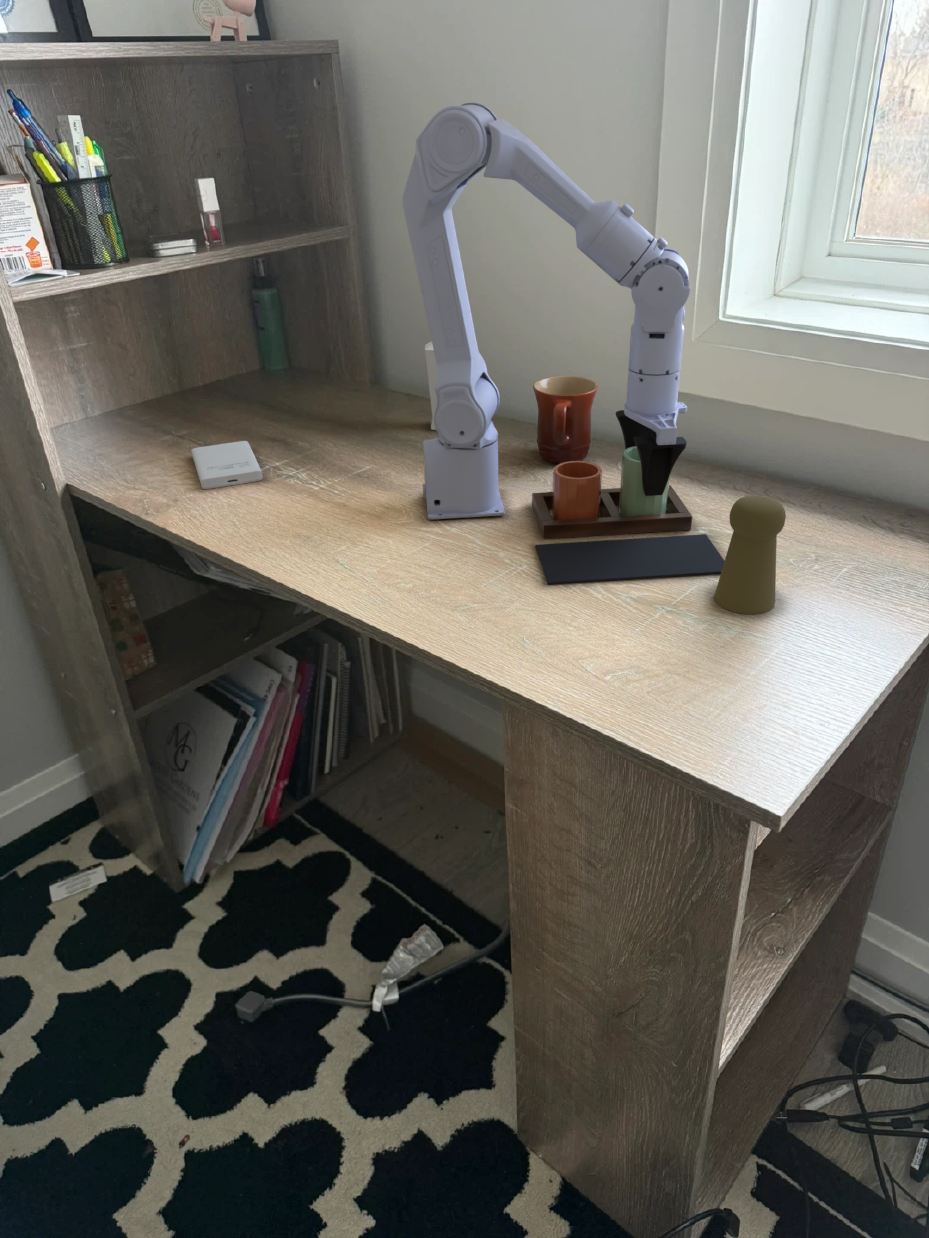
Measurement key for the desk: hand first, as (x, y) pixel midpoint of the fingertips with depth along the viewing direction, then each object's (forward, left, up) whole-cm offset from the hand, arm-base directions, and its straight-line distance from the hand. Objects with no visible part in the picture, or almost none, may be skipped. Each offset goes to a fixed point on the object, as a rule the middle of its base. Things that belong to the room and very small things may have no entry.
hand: (645, 481), depth 107 cm
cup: (0, 0, -4) cm, 5 cm away
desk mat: (-4, -11, -4) cm, 13 cm away
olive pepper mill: (+5, -21, -5) cm, 22 cm away
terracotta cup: (-8, 0, -4) cm, 9 cm away
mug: (-7, +19, -5) cm, 21 cm away
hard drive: (-54, +23, -5) cm, 59 cm away
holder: (-4, 0, -4) cm, 6 cm away
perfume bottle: (-23, +36, -5) cm, 43 cm away
